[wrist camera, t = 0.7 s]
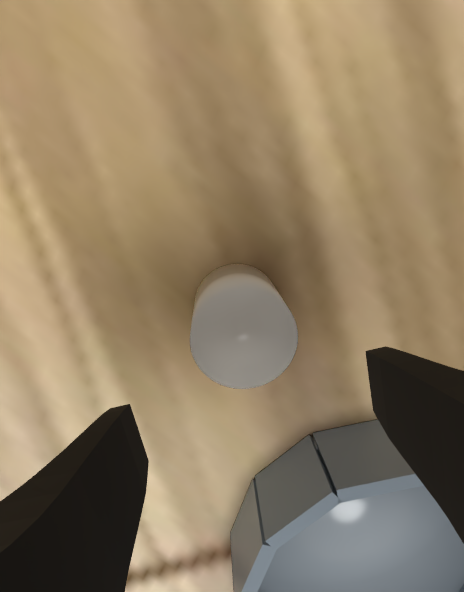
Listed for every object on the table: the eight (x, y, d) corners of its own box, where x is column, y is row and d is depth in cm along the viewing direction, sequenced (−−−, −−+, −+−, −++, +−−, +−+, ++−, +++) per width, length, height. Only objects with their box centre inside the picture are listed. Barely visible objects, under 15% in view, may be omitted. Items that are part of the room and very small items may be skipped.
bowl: (485, 397, 23) (549, 445, 19) (488, 601, 28) (540, 678, 23) (209, 454, 23) (209, 516, 19) (258, 649, 27) (268, 735, 23)
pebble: (269, 255, 20) (289, 277, 15) (283, 334, 21) (305, 377, 16) (186, 273, 20) (178, 300, 15) (204, 350, 21) (202, 398, 16)
